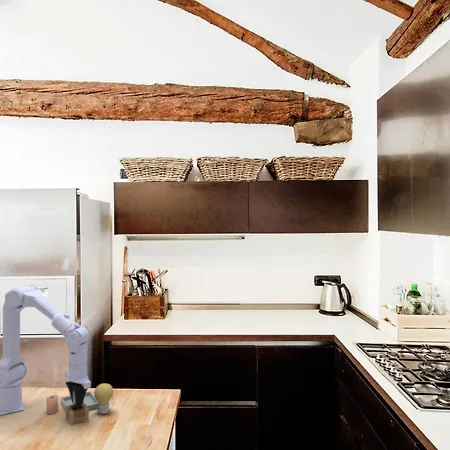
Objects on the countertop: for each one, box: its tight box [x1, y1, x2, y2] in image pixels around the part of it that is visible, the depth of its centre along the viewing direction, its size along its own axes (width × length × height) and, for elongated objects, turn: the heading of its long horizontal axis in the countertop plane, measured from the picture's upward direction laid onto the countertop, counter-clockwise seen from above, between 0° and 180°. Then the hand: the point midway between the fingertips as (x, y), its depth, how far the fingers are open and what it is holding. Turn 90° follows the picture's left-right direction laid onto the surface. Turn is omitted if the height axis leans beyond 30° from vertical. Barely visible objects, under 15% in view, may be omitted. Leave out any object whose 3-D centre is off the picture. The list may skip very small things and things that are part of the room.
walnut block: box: [65, 402, 90, 426], centre depth 140 cm, size 6×6×4 cm
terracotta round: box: [45, 394, 59, 415], centre depth 145 cm, size 4×4×5 cm
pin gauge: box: [73, 391, 81, 411], centre depth 140 cm, size 2×2×7 cm
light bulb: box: [93, 383, 114, 415], centre depth 145 cm, size 6×6×10 cm
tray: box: [59, 390, 99, 412], centre depth 151 cm, size 12×11×2 cm
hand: (77, 403), depth 140 cm, fingers closed on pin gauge, 2 cm apart
